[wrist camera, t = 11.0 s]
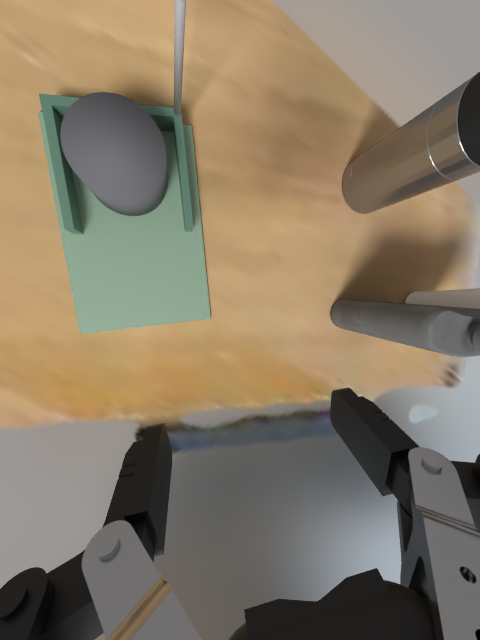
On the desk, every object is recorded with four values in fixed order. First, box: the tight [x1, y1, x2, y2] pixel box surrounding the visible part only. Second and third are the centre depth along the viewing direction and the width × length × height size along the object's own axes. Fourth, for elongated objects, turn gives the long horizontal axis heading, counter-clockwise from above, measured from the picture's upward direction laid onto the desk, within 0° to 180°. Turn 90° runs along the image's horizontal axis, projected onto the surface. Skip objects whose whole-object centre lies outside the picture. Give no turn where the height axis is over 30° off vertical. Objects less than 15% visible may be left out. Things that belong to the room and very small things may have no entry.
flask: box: [330, 300, 480, 357], centre depth 36 cm, size 15×6×20 cm, turn 88°
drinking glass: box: [404, 288, 480, 309], centre depth 41 cm, size 7×7×15 cm
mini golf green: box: [38, 0, 211, 334], centre depth 22 cm, size 18×27×22 cm, turn 6°
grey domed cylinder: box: [60, 92, 168, 216], centre depth 28 cm, size 10×10×7 cm
